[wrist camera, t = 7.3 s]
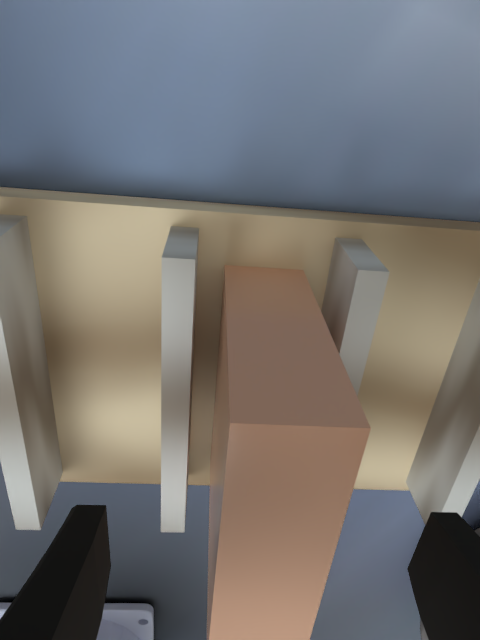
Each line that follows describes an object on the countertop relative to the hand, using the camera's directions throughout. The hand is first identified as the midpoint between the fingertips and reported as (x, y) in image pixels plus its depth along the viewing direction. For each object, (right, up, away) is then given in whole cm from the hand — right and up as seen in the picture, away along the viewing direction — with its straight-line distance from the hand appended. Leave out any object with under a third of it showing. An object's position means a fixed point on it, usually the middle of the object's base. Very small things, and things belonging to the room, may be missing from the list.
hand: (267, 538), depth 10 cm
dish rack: (0, +4, +6) cm, 7 cm away
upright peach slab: (0, +3, +5) cm, 6 cm away
